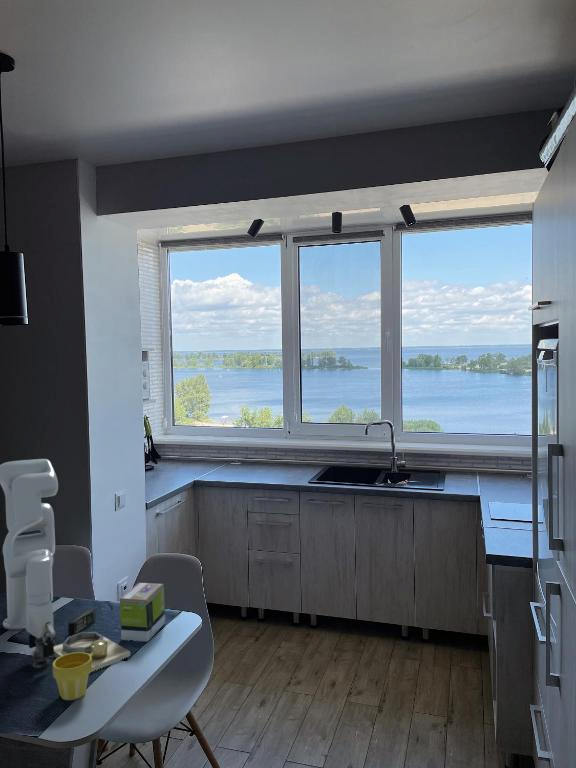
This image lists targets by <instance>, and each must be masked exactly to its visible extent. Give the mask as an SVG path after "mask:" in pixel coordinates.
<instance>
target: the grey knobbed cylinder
mask: <svg viewBox="0 0 576 768" xmlns="http://www.w3.org/2000/svg"><path fill="white" fill-rule="evenodd" d="M46 633H47V632H46ZM46 633H44V634H46ZM47 639H48V638H47V637H46V640H47ZM35 643H36V647H35V650H33V651H32V652H31V653H30V655H31V657H32V660H33V661H34V662H33V663H32V667H33V668H34V669H40V668H41V667H42V668H44V667H47V666H49V665H51V663H52V662H51V660H50V659H49V658H50V656H49V657H46V658H44V657H43V645H44V642H43V639H42V637H41V638H37V637H36V640H35ZM42 668H41V669H42Z"/></svg>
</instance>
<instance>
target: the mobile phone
mask: <svg viewBox="0 0 576 768" xmlns="http://www.w3.org/2000/svg"><path fill="white" fill-rule="evenodd" d="M96 618H97V611H96V609H95V608H89V609H87V610H85V611H84V612H82V613H81V614H79V615H77V616H75V617H74V618H73V619H71V620H69V622H68V624H67V625H68V626H67V629H68V630H67V631H68V635H69V636H71V635H75V634H76V633H77V634H78V633H80V632H82V630H84V629H86V628H88V627H89V626H90V624H91V625H92V624H93V623H94V621H96Z"/></svg>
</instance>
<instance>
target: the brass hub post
mask: <svg viewBox="0 0 576 768" xmlns="http://www.w3.org/2000/svg"><path fill="white" fill-rule="evenodd" d="M107 655H108V652H107V641H106V640H96V641H93V642H92V643H91V657H92V659H94V660H99V659H103V658H105V657H106V656H107Z"/></svg>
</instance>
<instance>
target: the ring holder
mask: <svg viewBox="0 0 576 768" xmlns="http://www.w3.org/2000/svg"><path fill="white" fill-rule="evenodd" d="M103 636H104V635H102V634H101V633H98V632H97V631H86V632H85V631H80V632H78V633H77V634H75V635H72V636H71V635H69V636H67V637H66V638H65V640H64V641H63V651H65V652H66V653H74V652H84V653H90V652H91V645H89V646H86V647H70V646H69V644H70V643H73V642H76V641H78V640H81V639H95V640H103Z"/></svg>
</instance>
